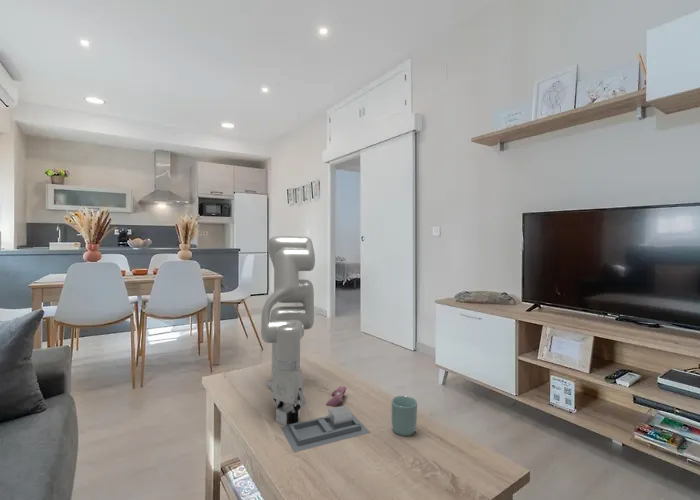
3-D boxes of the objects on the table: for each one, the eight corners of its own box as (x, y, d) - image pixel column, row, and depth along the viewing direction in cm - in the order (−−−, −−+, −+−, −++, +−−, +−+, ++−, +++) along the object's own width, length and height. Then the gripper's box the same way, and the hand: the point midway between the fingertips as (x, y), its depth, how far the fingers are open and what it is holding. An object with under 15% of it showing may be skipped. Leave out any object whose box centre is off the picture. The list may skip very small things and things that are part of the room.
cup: (418, 429, 110) (418, 398, 110) (414, 442, 103) (415, 409, 103) (393, 424, 113) (394, 394, 112) (388, 437, 105) (389, 404, 105)
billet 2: (328, 424, 110) (328, 409, 110) (345, 420, 113) (345, 405, 112) (334, 432, 106) (334, 415, 106) (351, 427, 109) (352, 411, 108)
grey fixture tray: (280, 430, 108) (280, 422, 108) (350, 414, 119) (350, 407, 119) (293, 455, 96) (293, 446, 95) (370, 435, 106) (370, 427, 106)
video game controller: (335, 414, 122) (344, 397, 121) (324, 407, 123) (333, 390, 122) (341, 401, 132) (350, 385, 131) (331, 394, 132) (339, 379, 131)
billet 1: (275, 424, 111) (276, 409, 111) (289, 416, 116) (289, 401, 116) (286, 429, 109) (286, 413, 109) (299, 420, 114) (299, 405, 114)
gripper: (260, 362, 113) (260, 418, 114) (300, 373, 104) (299, 433, 104) (277, 356, 120) (276, 409, 120) (316, 366, 110) (315, 423, 111)
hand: (287, 420), depth 112 cm, fingers open, 4 cm apart
